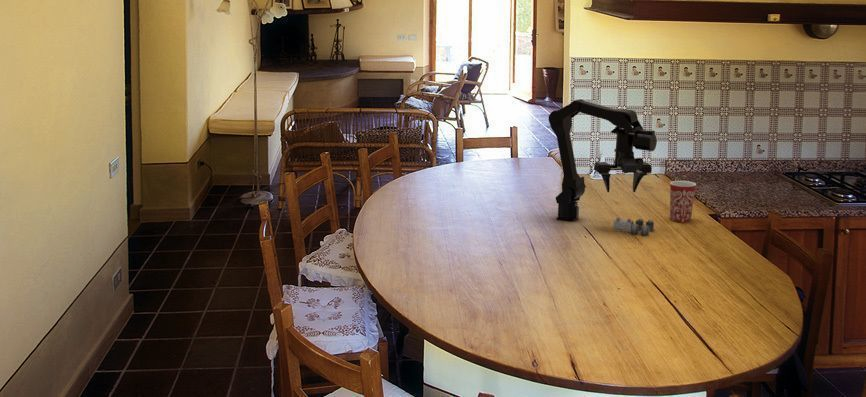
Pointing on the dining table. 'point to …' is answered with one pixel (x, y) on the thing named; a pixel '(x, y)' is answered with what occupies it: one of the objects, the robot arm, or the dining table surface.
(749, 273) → the dining table surface
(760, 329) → the dining table surface
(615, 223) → the block with round pegs
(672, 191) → the mug
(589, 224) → the dining table surface
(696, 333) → the dining table surface
